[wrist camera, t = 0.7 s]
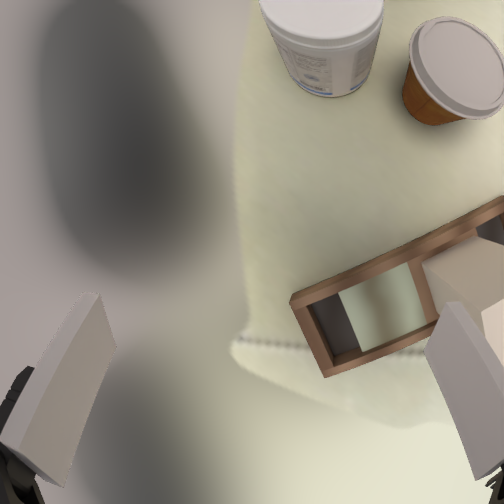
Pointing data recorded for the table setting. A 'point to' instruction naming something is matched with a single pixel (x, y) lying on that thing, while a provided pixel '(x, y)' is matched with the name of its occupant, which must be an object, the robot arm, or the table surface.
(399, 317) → the trap track
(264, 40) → the table surface
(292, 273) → the table surface
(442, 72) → the disposable coffee cup
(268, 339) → the table surface
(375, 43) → the supplement tub
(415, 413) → the table surface
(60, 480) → the robot arm
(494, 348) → the block
